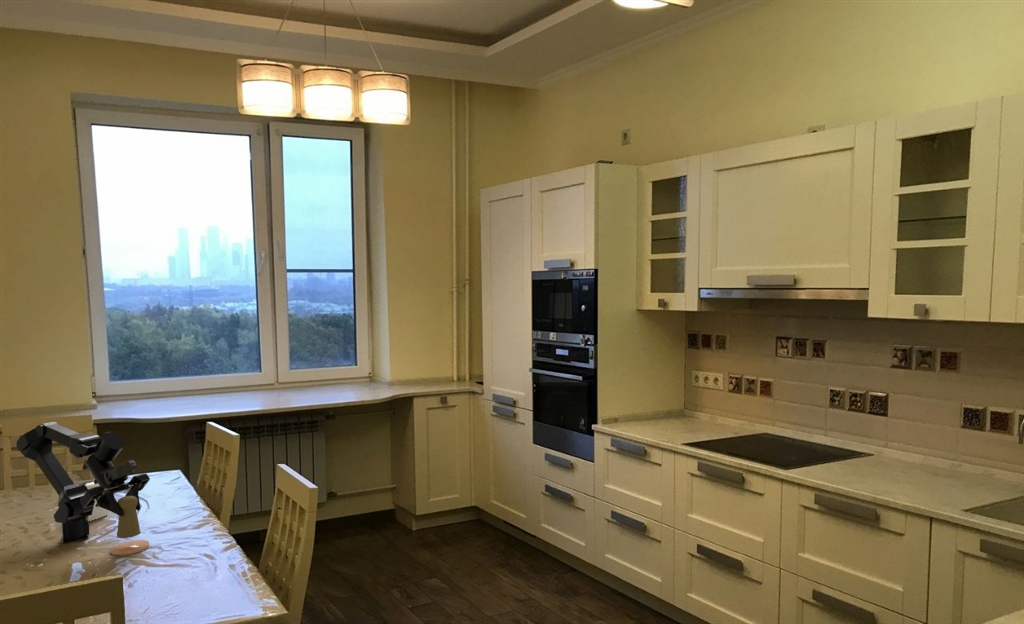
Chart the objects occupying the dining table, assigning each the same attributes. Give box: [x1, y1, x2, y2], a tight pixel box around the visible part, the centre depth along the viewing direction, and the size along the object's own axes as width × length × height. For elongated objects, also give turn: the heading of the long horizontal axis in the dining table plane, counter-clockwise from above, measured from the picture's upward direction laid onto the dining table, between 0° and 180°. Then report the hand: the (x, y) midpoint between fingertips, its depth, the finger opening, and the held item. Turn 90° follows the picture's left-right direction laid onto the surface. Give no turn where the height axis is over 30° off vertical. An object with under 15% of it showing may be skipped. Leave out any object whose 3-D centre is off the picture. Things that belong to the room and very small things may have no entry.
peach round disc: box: [109, 539, 150, 556], centre depth 202 cm, size 10×10×1 cm
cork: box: [116, 496, 141, 539], centre depth 202 cm, size 6×6×11 cm
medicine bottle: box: [78, 480, 108, 522], centre depth 231 cm, size 7×7×12 cm
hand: (131, 512), depth 201 cm, fingers closed on cork, 5 cm apart
